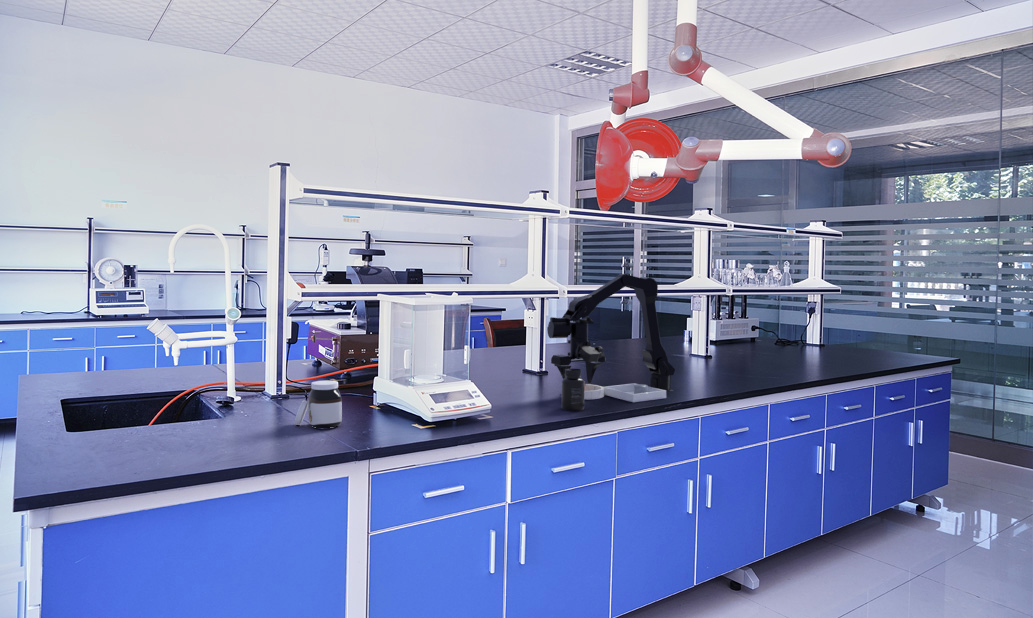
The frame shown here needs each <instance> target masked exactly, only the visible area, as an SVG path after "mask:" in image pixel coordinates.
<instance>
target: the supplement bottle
mask: <svg viewBox="0 0 1033 618" xmlns="http://www.w3.org/2000/svg"><path fill="white" fill-rule="evenodd" d="M565 376H566V377H565V378H564V379H563V378H562V380H561V409H562V410H563V411H568V412H569V411H570V412H579V411H583V410H584V409H585V399H584V382H585V380H584V379H583V378H582V377H581V376H582V369H581V368H570V369H565Z"/></svg>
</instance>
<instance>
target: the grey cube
mask: <svg viewBox="0 0 1033 618" xmlns="http://www.w3.org/2000/svg"><path fill="white" fill-rule="evenodd" d="M635 384H636V385H634V394H639V393H647V392H648V387H649V386H648V384H643V383H640V384H639V383H635Z"/></svg>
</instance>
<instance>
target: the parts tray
mask: <svg viewBox="0 0 1033 618" xmlns="http://www.w3.org/2000/svg"><path fill="white" fill-rule="evenodd" d="M636 384H637V383H625V384H618V385H617V384H616V385H608V386H602V387H603V388H604V396H606V397H607V396H608V397H612V398H615V399H618V400H619V399H620V400H621V401H626V402H631V403H639V402H647V401H654V400H655V401H656V400H663V399H667V392H666V390H661V389H657V388H653V387H650V386H648V392H647V393H639V394H634V385H636Z"/></svg>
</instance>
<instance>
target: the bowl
mask: <svg viewBox="0 0 1033 618" xmlns="http://www.w3.org/2000/svg"><path fill="white" fill-rule="evenodd" d="M603 387H604V386H601V385H598V384H591V383H585V391H584V400H598V399H602V398H604V397H605V395H604V388H603Z"/></svg>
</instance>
